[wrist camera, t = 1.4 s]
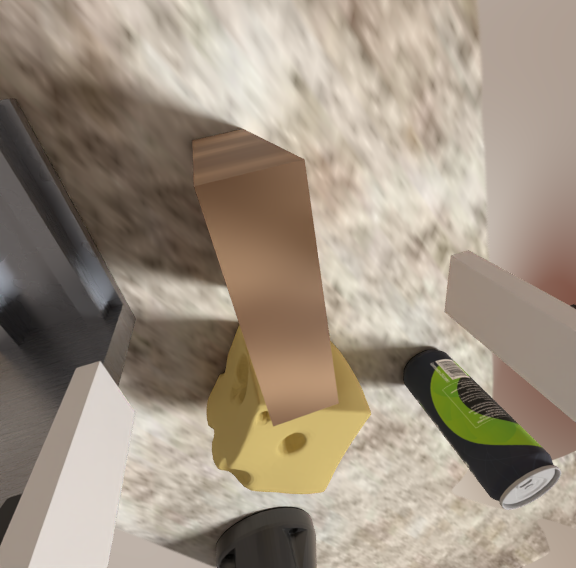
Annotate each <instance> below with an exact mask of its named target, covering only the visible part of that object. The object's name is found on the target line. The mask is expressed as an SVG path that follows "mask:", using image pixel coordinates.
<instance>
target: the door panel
mask: <svg viewBox="0 0 576 568" xmlns="http://www.w3.org/2000/svg"><path fill="white" fill-rule="evenodd" d="M192 146H193V177H194V188H195V191H196V195H197V198H198V201H199V204H200V207H201V210H202V213H203V216H204V219H205V222H206V225H207V228H208V231H209V234H210V237H211V240H212V243H213V246H214V249H215V252H216V255H217V258H218V261H219V264H220V267H221V270H222V273H223V276H224V279H225V282H226V285H227V288H228V291H229V294H230V297H231V300H232V303H233V306H234V309H235V312H236V316H237V319H238V322H239V325H240V328H241V331H242V334H243V337H244V340H245V343H246V346H247V349H248V352H249V355H250V358H251V361H252V364H253V367H254V370H255V373H256V376H257V379H258V382H259V385H260V388H261V391H262V394H263V397H264V400H265V403H266V406H267V409H268V412H269V415H270V418H271V421H272V424H273V427H274V426H276V425H279V424H282V423H285V422H288V421H291V420H293V419H296V418H299V417H302V416H305V415H308V414H310V413H313V412H316V411H319V410H322V409H325V408H327V407H330V406H333V405H336V404H339V401H338V394H337V387H336V380H335V373H334V366H333V358H332V351H331V344H330V337H329V330H328V323H327V316H326V309H325V302H324V295H323V288H322V281H321V274H320V266H319V259H318V252H317V245H316V238H315V231H314V224H313V217H312V210H311V203H310V196H309V189H308V181H307V174H306V167H305V160H304V159H302V158H300V157H298V156H296V155H294V154H292V153H290V152H288V151H286V150H284V149H282V148H280V147H278V146H276V145H274V144H272V143H270V142H268V141H266V140H264V139H262V138H260V137H258V136H256V135H254V134H252V133H250V132H248V131H246V130H244V129H241V130H236V131H232V132H227V133H223V134H218V135H214V136H209V137H205V138H200V139H196V140H192Z"/></svg>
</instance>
